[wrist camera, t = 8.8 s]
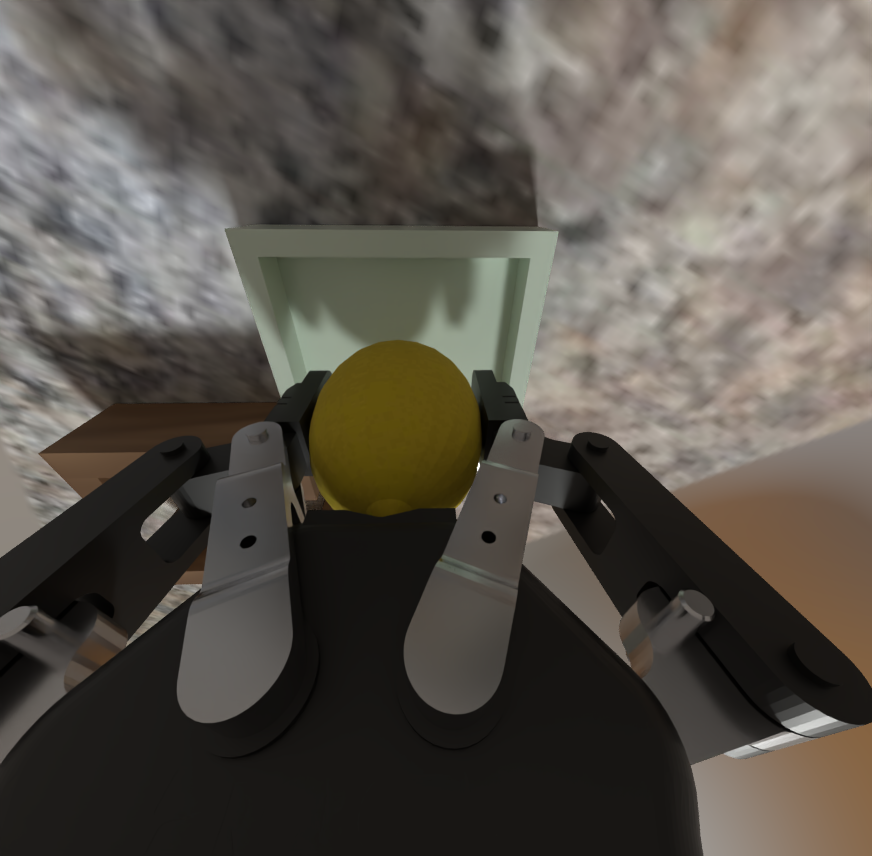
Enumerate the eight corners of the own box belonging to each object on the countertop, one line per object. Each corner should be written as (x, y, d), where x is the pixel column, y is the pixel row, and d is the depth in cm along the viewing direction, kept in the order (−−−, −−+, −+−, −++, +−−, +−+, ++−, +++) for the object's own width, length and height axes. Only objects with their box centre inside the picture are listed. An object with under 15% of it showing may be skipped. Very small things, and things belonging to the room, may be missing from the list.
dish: (255, 224, 12) (224, 228, 10) (538, 226, 12) (558, 231, 10) (317, 445, 18) (305, 472, 17) (501, 443, 19) (509, 469, 17)
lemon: (429, 440, 16) (433, 602, 10) (324, 396, 14) (243, 557, 8) (491, 351, 13) (556, 495, 7) (371, 283, 12) (304, 390, 5)
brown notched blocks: (114, 403, 16) (38, 453, 13) (324, 402, 17) (300, 450, 13) (204, 530, 23) (168, 584, 20) (354, 527, 23) (343, 580, 20)
